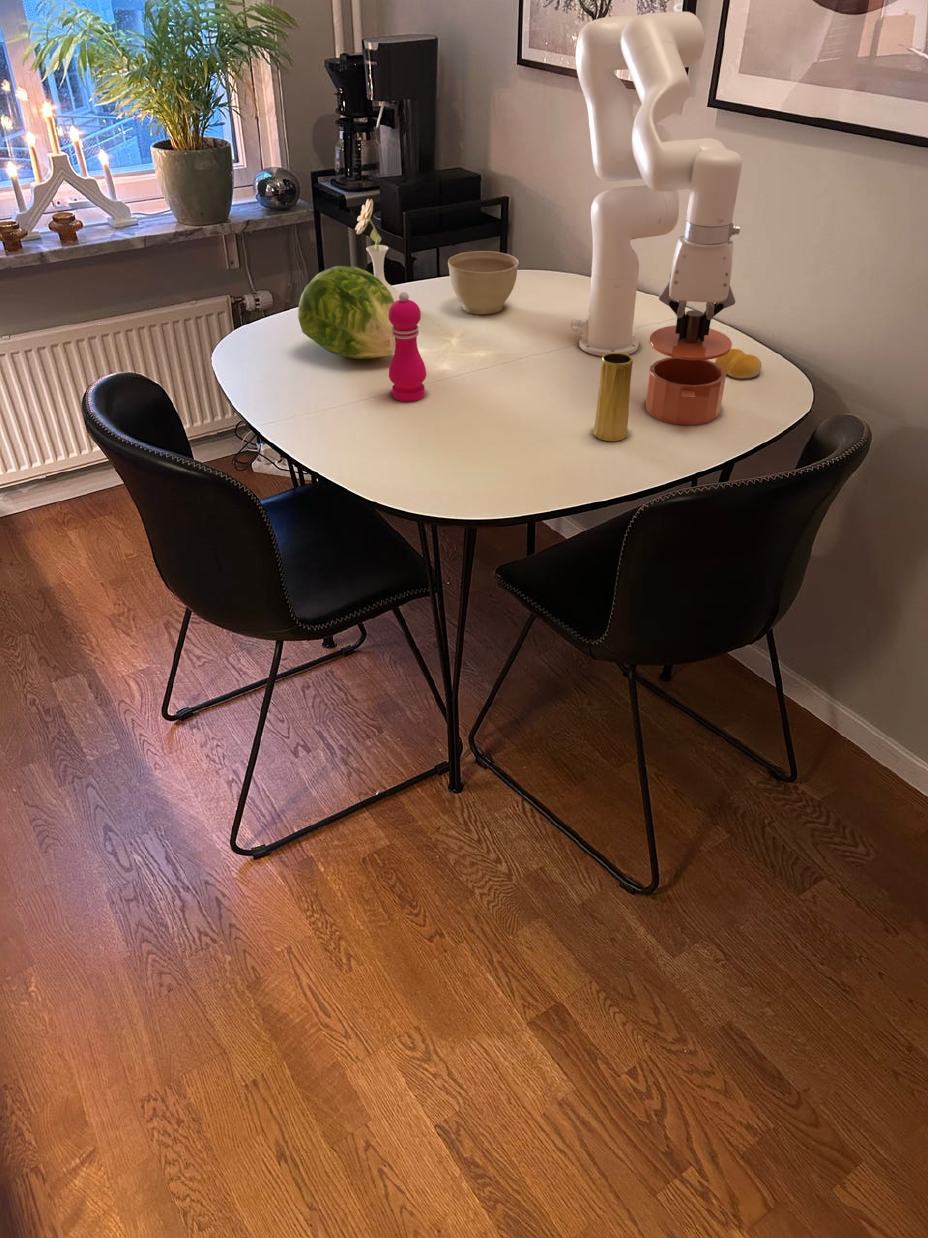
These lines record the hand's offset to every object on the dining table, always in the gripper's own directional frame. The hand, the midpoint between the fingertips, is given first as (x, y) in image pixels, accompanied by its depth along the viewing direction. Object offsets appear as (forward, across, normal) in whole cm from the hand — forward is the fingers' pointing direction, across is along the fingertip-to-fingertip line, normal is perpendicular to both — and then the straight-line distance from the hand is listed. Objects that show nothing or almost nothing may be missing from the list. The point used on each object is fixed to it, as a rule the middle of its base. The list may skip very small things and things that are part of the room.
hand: (691, 336), depth 167 cm
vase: (+14, +13, +13) cm, 23 cm away
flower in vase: (+15, +69, -44) cm, 83 cm away
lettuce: (+15, +68, -18) cm, 71 cm away
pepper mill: (+14, +52, +2) cm, 54 cm away
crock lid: (+1, 0, 0) cm, 1 cm away
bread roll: (+14, -12, -19) cm, 26 cm away
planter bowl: (+15, +45, -48) cm, 67 cm away
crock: (+14, 0, +1) cm, 14 cm away
